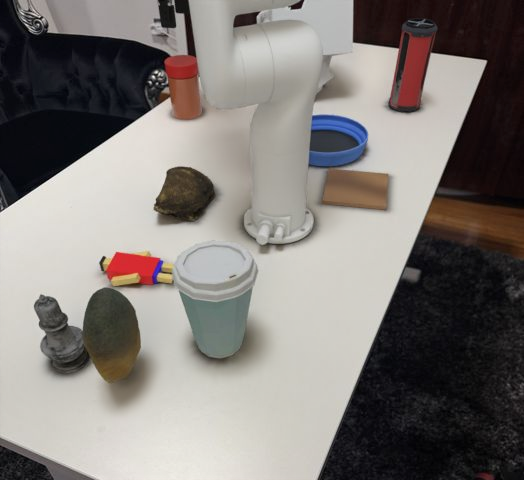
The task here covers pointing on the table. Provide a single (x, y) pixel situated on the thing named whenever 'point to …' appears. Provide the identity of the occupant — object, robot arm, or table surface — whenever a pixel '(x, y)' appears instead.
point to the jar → (185, 97)
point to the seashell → (184, 193)
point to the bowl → (335, 140)
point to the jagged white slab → (321, 27)
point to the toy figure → (136, 269)
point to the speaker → (412, 64)
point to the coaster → (356, 189)
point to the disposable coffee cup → (216, 293)
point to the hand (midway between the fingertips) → (176, 20)
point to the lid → (181, 66)
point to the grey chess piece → (60, 337)
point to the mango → (111, 334)
